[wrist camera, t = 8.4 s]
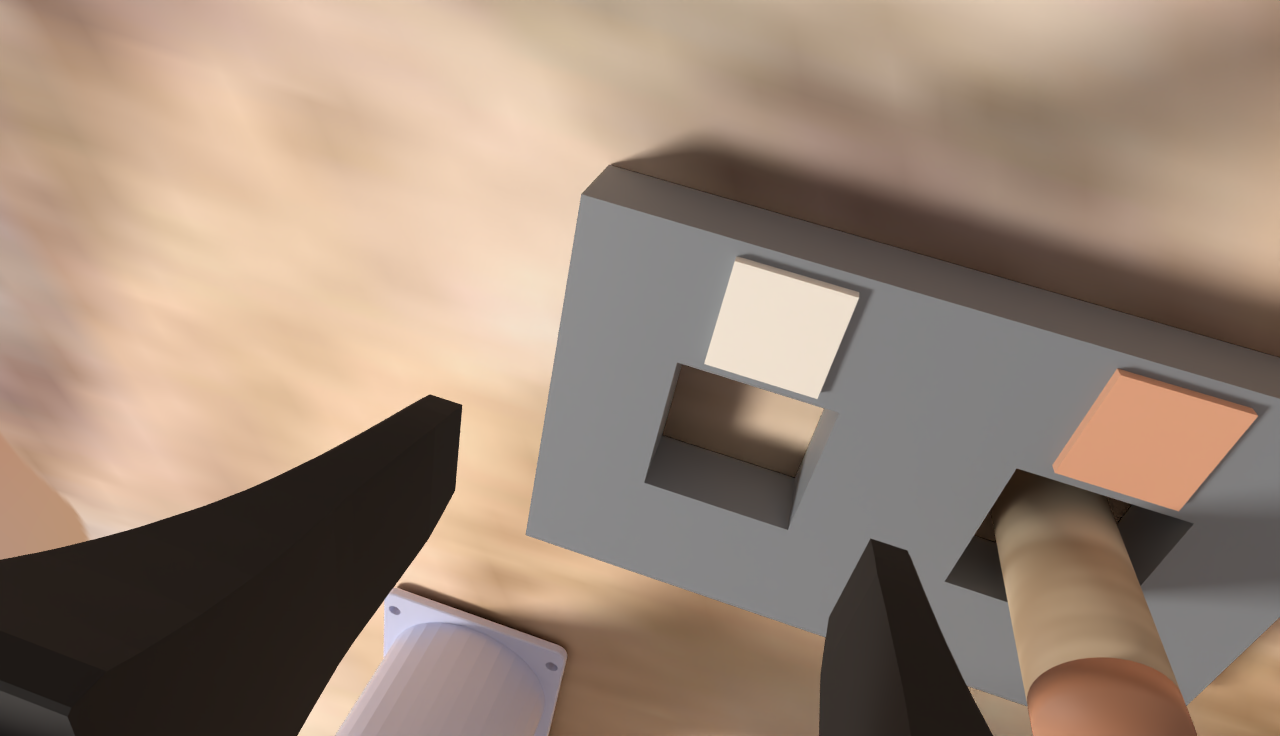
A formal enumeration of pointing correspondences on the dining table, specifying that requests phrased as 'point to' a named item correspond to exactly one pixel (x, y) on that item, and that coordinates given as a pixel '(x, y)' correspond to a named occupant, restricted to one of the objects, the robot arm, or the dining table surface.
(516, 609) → the dining table surface
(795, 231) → the socket board
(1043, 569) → the plug
